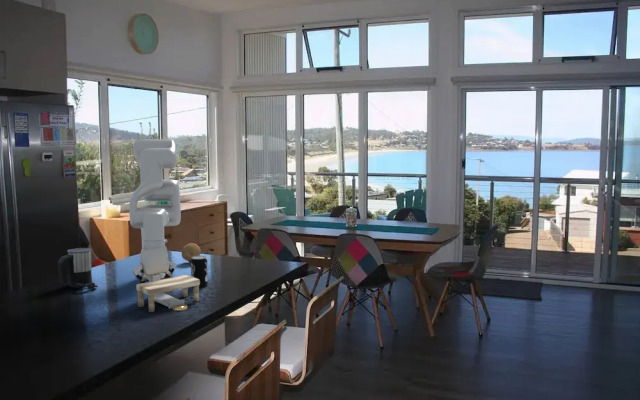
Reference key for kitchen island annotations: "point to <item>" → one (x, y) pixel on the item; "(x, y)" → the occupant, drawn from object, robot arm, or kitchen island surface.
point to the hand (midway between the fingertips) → (155, 288)
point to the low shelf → (166, 288)
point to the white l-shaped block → (164, 295)
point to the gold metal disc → (179, 307)
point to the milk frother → (77, 268)
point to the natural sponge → (190, 251)
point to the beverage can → (199, 269)
